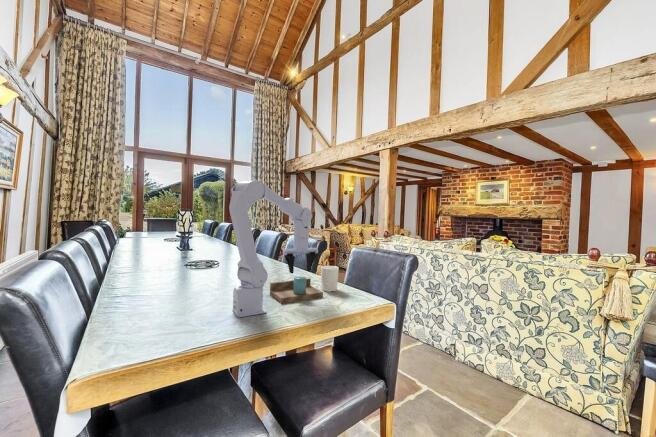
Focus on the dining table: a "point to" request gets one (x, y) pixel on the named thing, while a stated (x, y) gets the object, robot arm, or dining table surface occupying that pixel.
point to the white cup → (329, 278)
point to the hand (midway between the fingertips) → (300, 272)
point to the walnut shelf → (285, 291)
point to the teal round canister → (299, 286)
